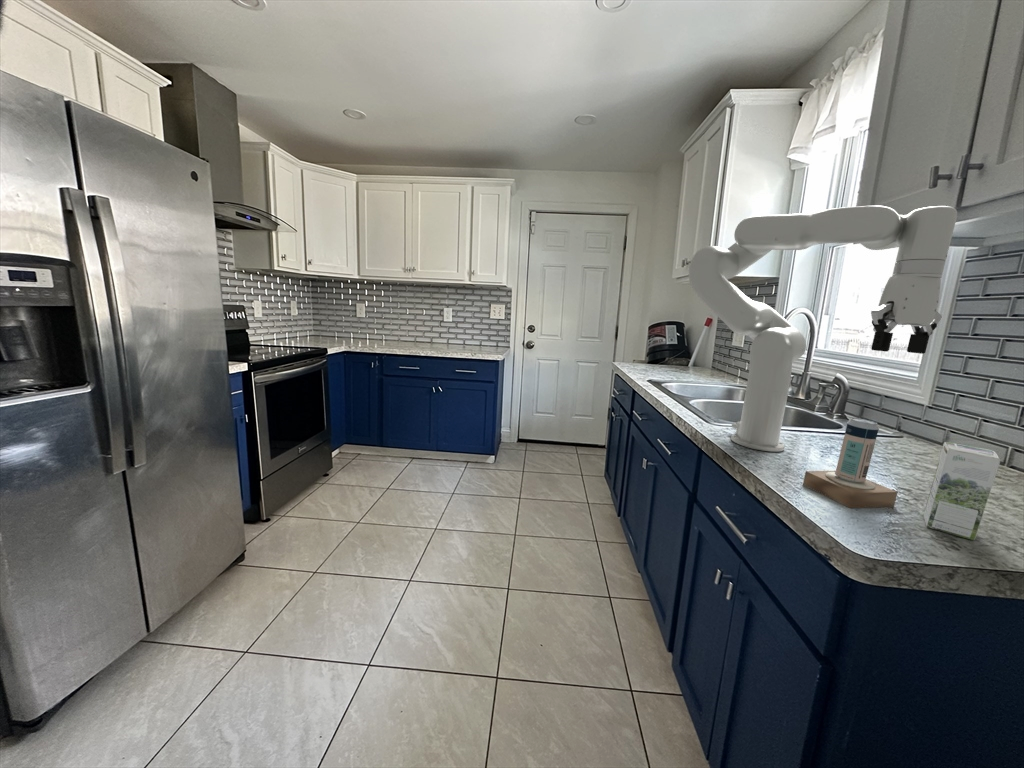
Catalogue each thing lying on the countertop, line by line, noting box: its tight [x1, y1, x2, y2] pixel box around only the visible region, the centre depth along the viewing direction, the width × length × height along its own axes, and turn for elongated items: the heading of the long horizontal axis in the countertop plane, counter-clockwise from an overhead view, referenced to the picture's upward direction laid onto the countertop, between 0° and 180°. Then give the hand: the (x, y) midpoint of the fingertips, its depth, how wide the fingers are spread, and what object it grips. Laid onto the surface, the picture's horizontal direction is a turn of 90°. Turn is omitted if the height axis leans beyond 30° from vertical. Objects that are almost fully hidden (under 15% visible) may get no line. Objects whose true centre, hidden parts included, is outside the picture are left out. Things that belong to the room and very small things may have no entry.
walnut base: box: [802, 470, 898, 509], centre depth 80 cm, size 10×10×3 cm
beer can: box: [835, 417, 880, 483], centre depth 78 cm, size 5×5×12 cm
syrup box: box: [923, 441, 1001, 541], centre depth 68 cm, size 6×6×14 cm
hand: (897, 351), depth 88 cm, fingers open, 9 cm apart
